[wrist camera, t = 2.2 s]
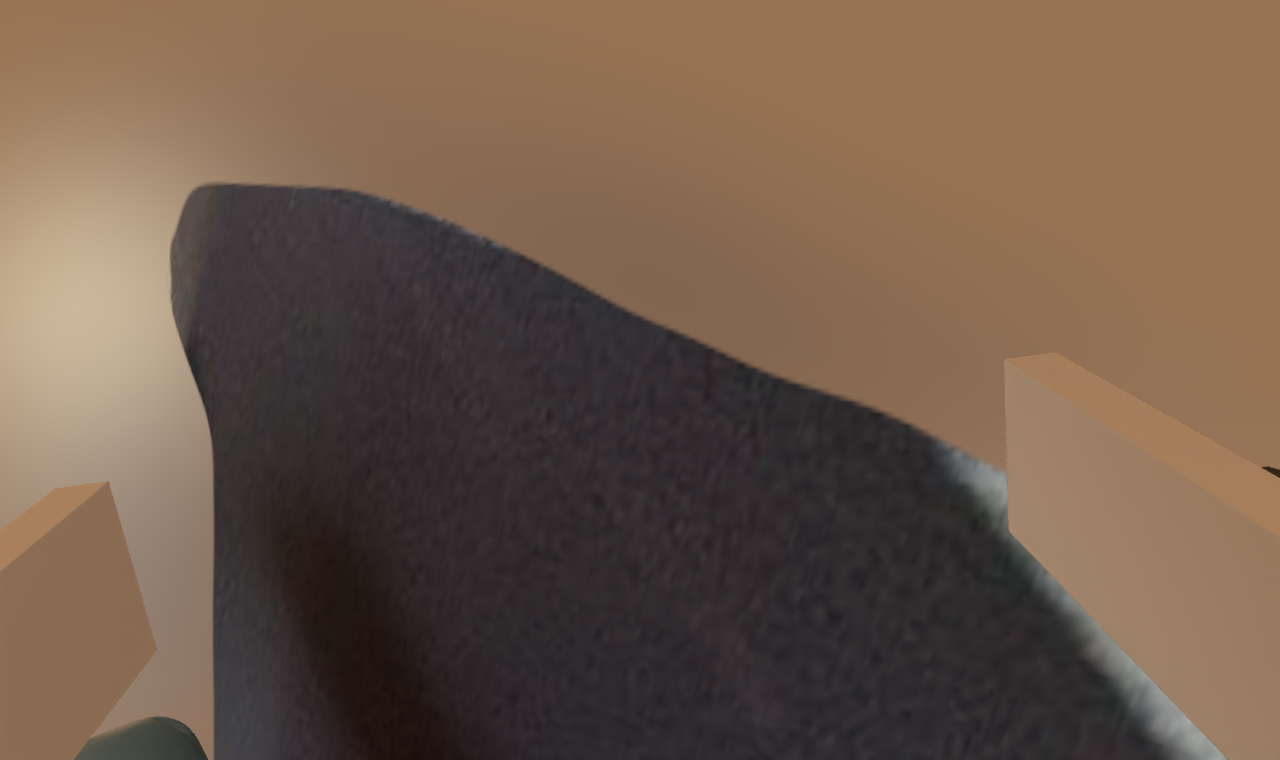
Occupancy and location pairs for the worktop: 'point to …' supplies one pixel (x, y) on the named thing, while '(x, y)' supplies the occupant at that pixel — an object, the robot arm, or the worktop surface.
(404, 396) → the worktop surface
